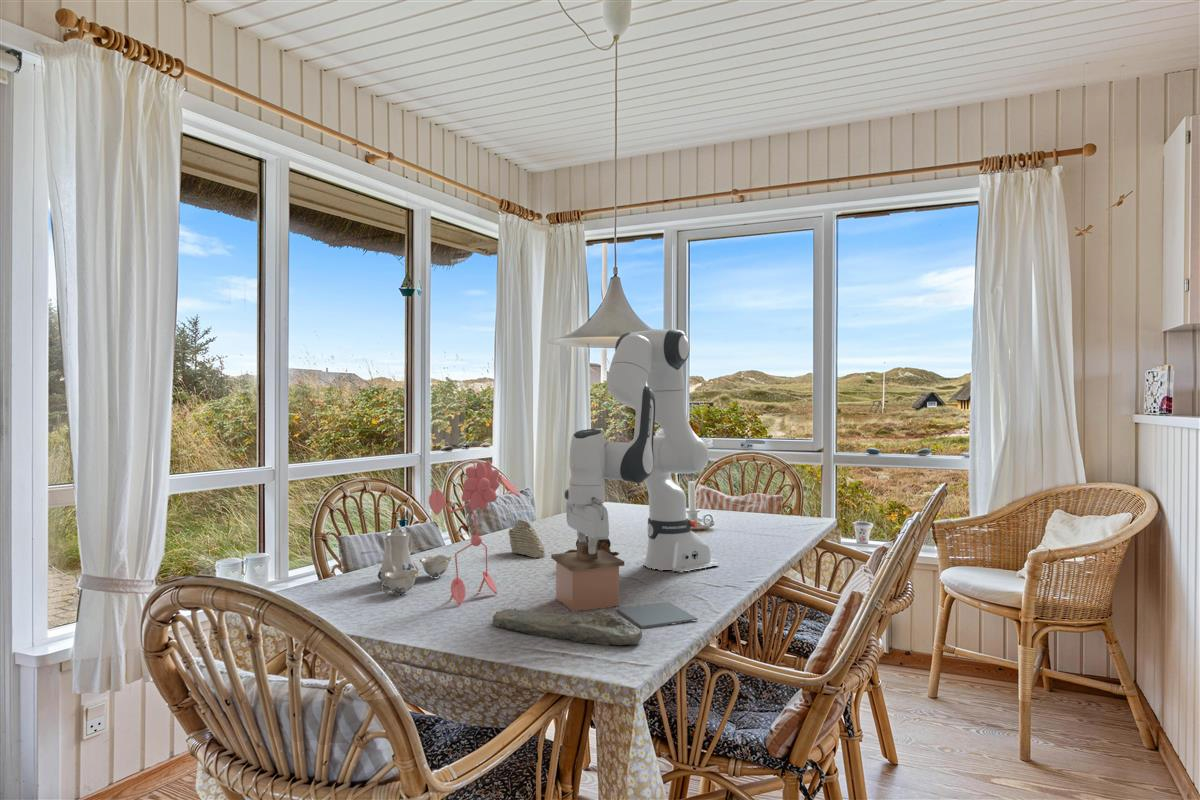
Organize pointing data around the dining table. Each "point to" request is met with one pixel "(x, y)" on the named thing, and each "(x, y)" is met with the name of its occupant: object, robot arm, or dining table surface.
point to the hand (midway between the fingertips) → (587, 551)
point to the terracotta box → (587, 587)
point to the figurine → (479, 494)
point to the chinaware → (405, 563)
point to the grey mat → (655, 614)
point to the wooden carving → (599, 546)
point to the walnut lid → (586, 559)
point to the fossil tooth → (525, 540)
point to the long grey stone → (571, 626)
